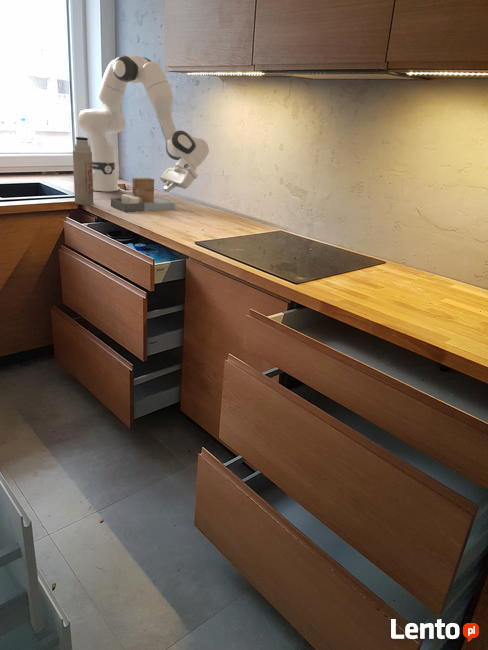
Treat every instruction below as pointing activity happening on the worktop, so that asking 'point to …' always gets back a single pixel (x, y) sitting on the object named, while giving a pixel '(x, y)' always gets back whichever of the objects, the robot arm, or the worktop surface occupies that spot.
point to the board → (159, 205)
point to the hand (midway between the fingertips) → (165, 190)
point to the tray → (126, 205)
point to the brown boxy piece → (143, 189)
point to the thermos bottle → (83, 172)
